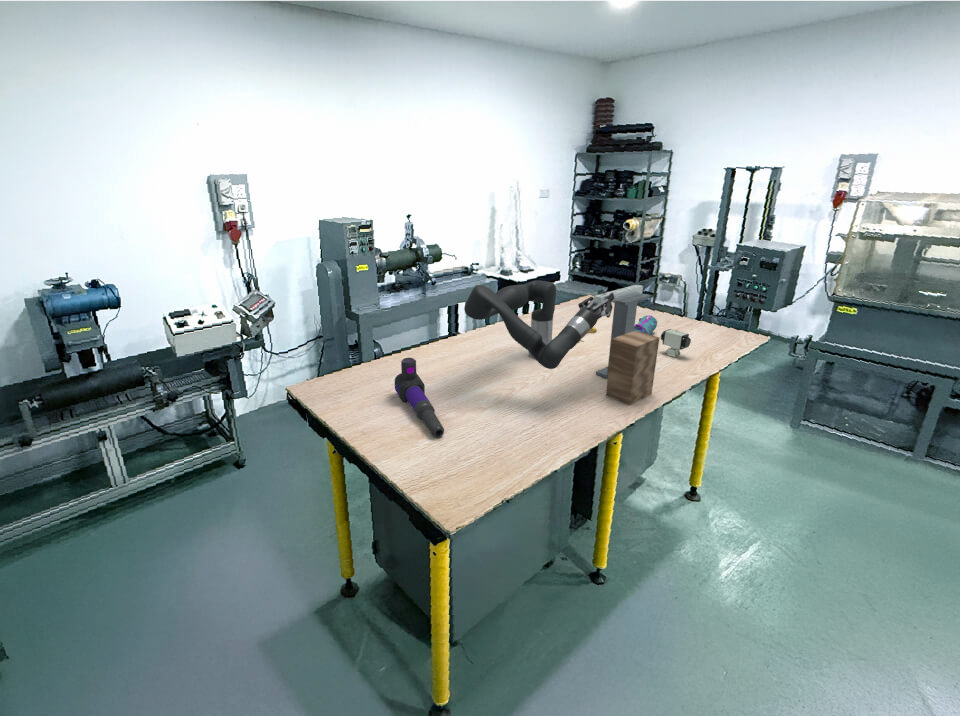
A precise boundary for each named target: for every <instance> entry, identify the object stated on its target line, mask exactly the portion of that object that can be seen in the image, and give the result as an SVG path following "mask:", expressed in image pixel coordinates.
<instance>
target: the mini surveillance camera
mask: <svg viewBox="0 0 960 716" xmlns="http://www.w3.org/2000/svg"><path fill="white" fill-rule="evenodd" d="M660 340H661V342H662V345H664V346H666V347H668V348H667V349H666V353H667V354H666V355H667V356H668V357H671V358H673V359H674V358H676V357H680V355H681V351H682V350H684V349H687V348H689V346H690V345H691V343H692V339H691V338H690V334H689V333H687V332H684V331H680V330H679V329H672V328H669V329H666V330H664V331H662V333H661V334H660Z"/></svg>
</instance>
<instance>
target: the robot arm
mask: <svg viewBox="0 0 960 716" xmlns="http://www.w3.org/2000/svg"><path fill="white" fill-rule="evenodd" d="M603 293H607V292H606V291H605V290H603V291H600V293H599V294H603ZM556 298H557V286H556V284H555V283H554V282H551V281H544V280H539V279H538V280H532V281H528V282H527V283H525V284H514V285H508V286H504V287H502V288H500V289H499V290H497V291H496V292H495V291H493V290H492V289H491V288H489V287H488V286H485V285H483V284H477V285H475V286H474V287H473V288H472V289H471V292H470V294H469V295H468V298H467V300H466V301H465V304H464V307H463V309H464V313H465V315H467V317H469V318H470V319H473V320H485V319H488V318H490V317H493V316H496V315H498V314H499V316H500V318H501V319H502V321H503V323H504V325H505V327H506V329H507V332H508V334H509V335H510V337H511V338H512V339H513V340H514V341H515V342H516V343H517V344H519V345H520V346H521V347H522V348H524V349H526V351H527V352H528V357H529V358H532V359H535V360H536V361H537V363H539V365H540V366H541V367H543V368H545V369H549V370H554V369H556V368H557V367H558V366H559V365H560V364H561V362H562V360H563V359H564V358H565V356H566V355H567V354H568V352H570V350H572V349H573V348H574V347H575V346H576V345H577V344H579V343H578V342H581V341H580V340H582V339H584V337H585V336H586V335H587V334H589V333H588V332H589V331H591V329H592V328H593V327H595V326H596V324H597V323H598V320H599V319H601V318H602V317H606V318H607V319H608V318H610V317H611V313H612V311H613V302H612V300H613V299H614V294H613V293H610V294H609V296H608V297H607V298H606V299H605V300H604V301H603V302H601V303H599V304H598V305H596V304H594V297H593V296H590V297H589V296H588V298H586V299H584V300H582V301H581V302H579V303H578V304H577V306H578V308H579V310H578V311H577V312H576V313H575V315H573V316H572V318H571V319H569V321H568V322H567V324H566V325H565V327H563V329H561V330H560V332H559V333H558V335H557V336H555V337H553V325H554V323H553V322H554V319H553V318H554V314H555V310H556ZM528 302H533V303H538V304H542V306H541V308H538V309H534V310H532V312H531V317H530V318H531V319H530V325H528V324H527V323H526V322H525V321H524V320H523V319H521V318H520V316H519V315H517V314H516V313H515V311H514V310H517V309H522V308H523V307H524V306H525V305H526V304H527V303H528ZM611 302H612V303H611ZM604 304H605V305H604Z"/></svg>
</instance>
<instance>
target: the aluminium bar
mask: <svg viewBox="0 0 960 716" xmlns="http://www.w3.org/2000/svg"><path fill="white" fill-rule="evenodd" d="M643 290H644V286H643V285H640V284H633V285H630V286H627V287H623V288H617V289H615V290H611V291H607V292H606V293H603V294H600V293H598V294H596V295H594V297H593V298H594V304H596V305H598V304H599V303H601V302H603V301H604V300H605V299H606V298H607V297H608V296H609V294H610V293H613V294H614V299H613V300H612V302H611V303H612V304H613V302H615V301H618V300H622V299H625V298H629V297H632V296H636V295H639V294H643ZM604 305H605V304H604Z"/></svg>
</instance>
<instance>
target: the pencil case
mask: <svg viewBox="0 0 960 716" xmlns="http://www.w3.org/2000/svg"><path fill="white" fill-rule="evenodd" d="M657 326H658V320H657V319H656V318H655V317H654V316H653V315H650V314H647V315H643V316H642V317H640V318H639V319H638V322H637V323H635V326H634V331H639V332H642V333H646V334H649V335H652V333H653V332H654V331H655V330H656V328H657Z"/></svg>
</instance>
